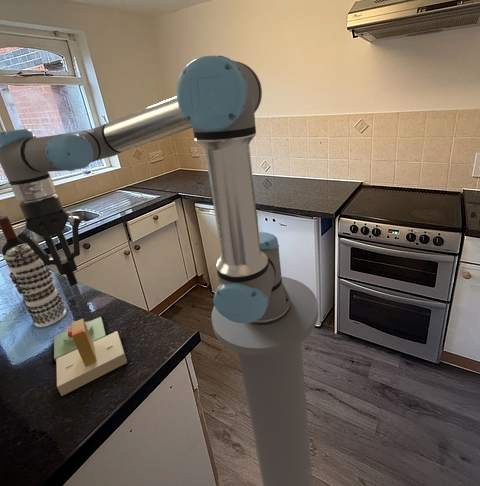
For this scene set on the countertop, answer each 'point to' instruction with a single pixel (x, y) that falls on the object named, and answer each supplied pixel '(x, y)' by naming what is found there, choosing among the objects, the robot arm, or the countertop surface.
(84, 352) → the thumbturn
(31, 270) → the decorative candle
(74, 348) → the green push button box
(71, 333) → the bell button
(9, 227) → the wine bottle
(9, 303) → the countertop surface
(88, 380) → the plate
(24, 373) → the countertop surface
